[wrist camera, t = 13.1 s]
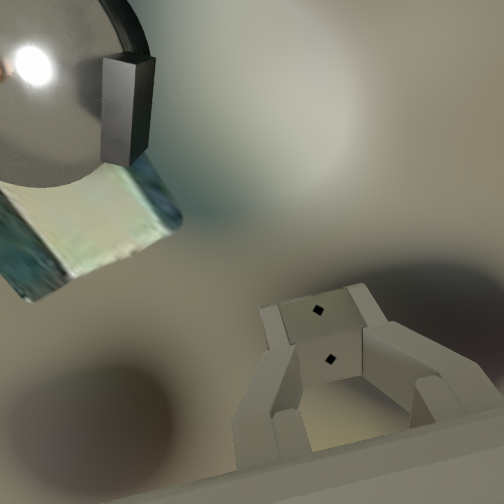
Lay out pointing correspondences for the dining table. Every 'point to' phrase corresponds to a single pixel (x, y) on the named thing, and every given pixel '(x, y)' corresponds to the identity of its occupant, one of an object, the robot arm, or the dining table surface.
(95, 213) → the dining table surface
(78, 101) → the cooker lid
